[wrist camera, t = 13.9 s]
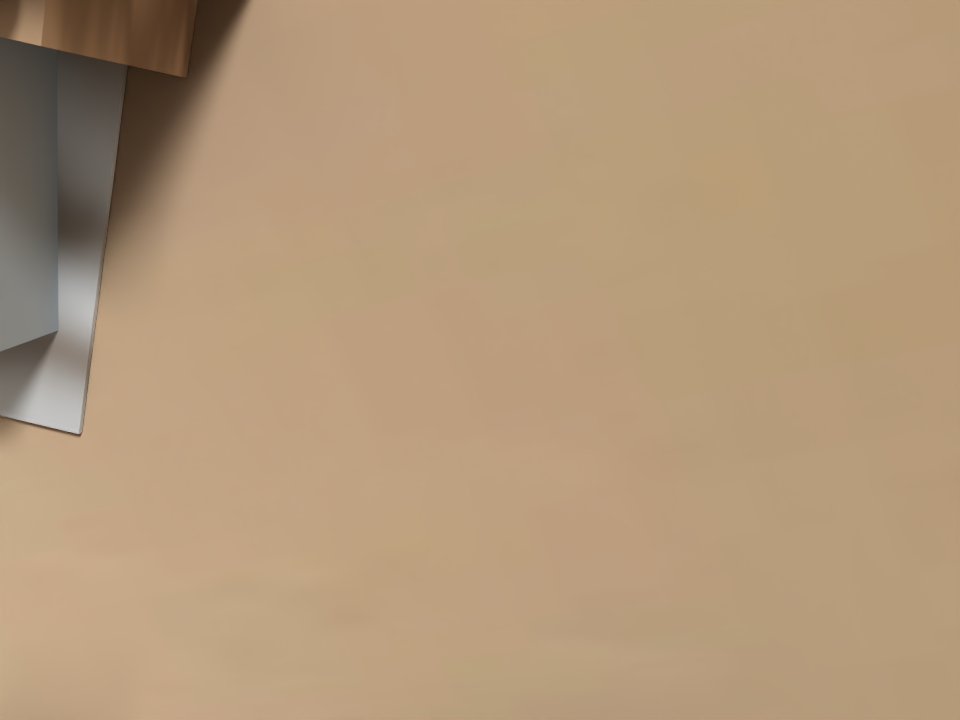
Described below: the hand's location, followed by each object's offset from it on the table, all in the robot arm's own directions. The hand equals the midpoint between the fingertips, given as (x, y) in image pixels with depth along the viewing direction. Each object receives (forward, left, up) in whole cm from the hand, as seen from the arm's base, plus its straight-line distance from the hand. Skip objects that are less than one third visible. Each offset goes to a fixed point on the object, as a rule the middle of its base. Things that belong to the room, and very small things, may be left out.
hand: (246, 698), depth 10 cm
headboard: (+1, +20, -29) cm, 35 cm away
